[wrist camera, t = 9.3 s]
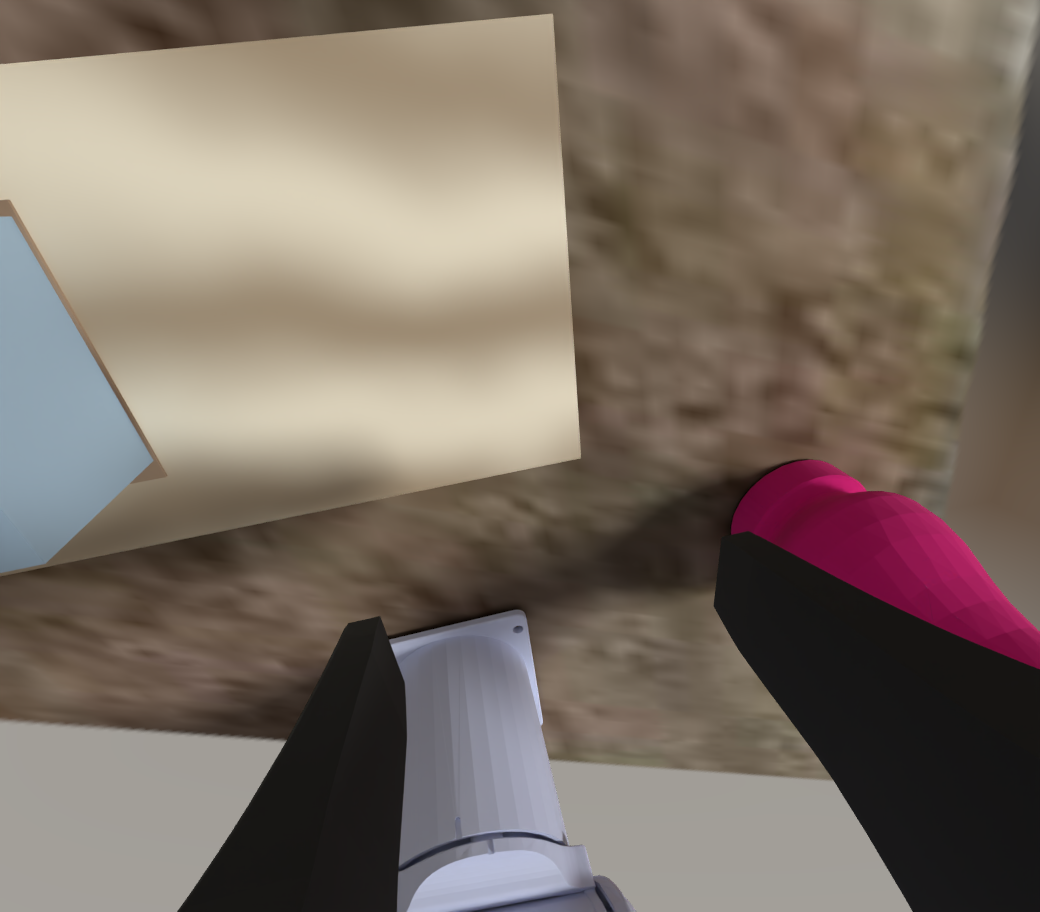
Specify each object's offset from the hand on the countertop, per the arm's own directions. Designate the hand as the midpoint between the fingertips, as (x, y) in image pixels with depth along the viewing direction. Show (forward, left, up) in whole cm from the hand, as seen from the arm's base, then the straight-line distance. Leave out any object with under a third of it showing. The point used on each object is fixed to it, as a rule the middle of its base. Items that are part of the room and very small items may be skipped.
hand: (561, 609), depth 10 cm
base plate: (+5, +8, -10) cm, 14 cm away
